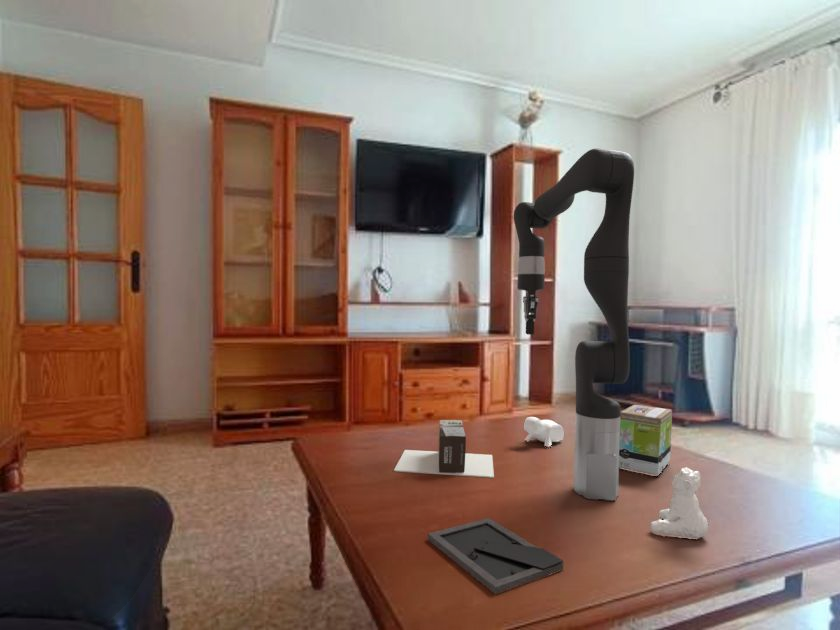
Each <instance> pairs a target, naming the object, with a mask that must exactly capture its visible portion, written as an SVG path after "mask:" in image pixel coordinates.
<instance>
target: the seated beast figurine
mask: <svg viewBox="0 0 840 630" xmlns="http://www.w3.org/2000/svg"><path fill="white" fill-rule="evenodd" d="M700 485H701V473H700V471H698V470H695V471H694V470H693V469H691V468H690V467H687V466H686V467H685V466H684V467H682V468H680V471H679V472H678V474H675V475H674V476H673V481H672V484H671V487H672V488H673V489H674V490H673V494H672V495H673V496H672V498H671V500H670V505H669V506H668V507H669V508H665V509H661V510H660V511H659V513H658V516H659V517H658V518H659V519H657V520H654V521H651V522H650V531H651V530H652V532H655V533H660V534H665V535H674V536H682V537H684V536H685V537H691V538H699V539H701V538H703V537H705V536H706V534H707V533H708V532H709V527H708V526H709V524H708V520H707V519H708V518H707V517H705V516H704V515H705V514H703V512H702V510H701V509H700V504H699V503H700V502H699V499H698V498H697V494H695V493H696V492H697V491H698V490H699V488H700ZM662 519H664V520H662ZM700 537H701V538H700Z"/></svg>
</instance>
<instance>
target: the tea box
mask: <svg viewBox="0 0 840 630" xmlns="http://www.w3.org/2000/svg"><path fill="white" fill-rule="evenodd" d="M672 422H673V410H672V409H670V408H661V407H656V406H655V407H654V406H649V405H648V406H647V405H640V404H632V405H630V406H629V407H627V408H625V409H623V410H621V412H620V445H619V468H624V469H629V470H633V471H637V472H643V473H648V474H653V475H659V474H660V473H661V474H662V472H661V471H662V470H663V469H664V468H665V466H666V465H667V464H668V462H669V461H670V462H671V446H672V430H673V429H672V427H673V426H672V425H673V424H672ZM668 465H669V464H668ZM665 469H666V468H665ZM665 469H664V470H665ZM664 470H663V471H664ZM661 474H660V475H661ZM660 475H659V476H660Z"/></svg>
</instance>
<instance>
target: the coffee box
mask: <svg viewBox="0 0 840 630" xmlns="http://www.w3.org/2000/svg"><path fill="white" fill-rule="evenodd" d="M438 427H439V430H438V451H437V452H438V453H439V472H447V473H456V472H464V471H465V453H466V450H467V449H466V448H467V447H466V446H467V437H466V433H465V429H464V425H463V421H462V420H461V419H460V420H459V419H457V420H455V419H450V420H449V419H440V420H439V426H438Z"/></svg>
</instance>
